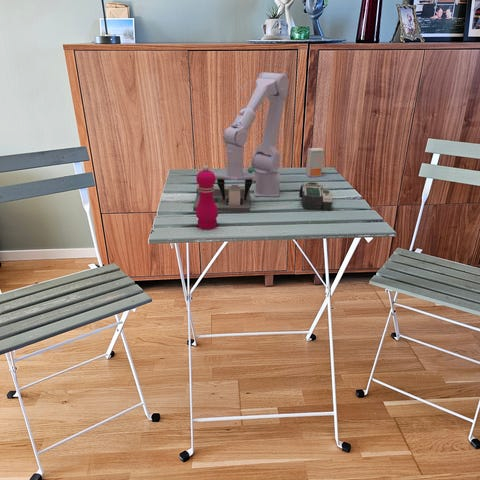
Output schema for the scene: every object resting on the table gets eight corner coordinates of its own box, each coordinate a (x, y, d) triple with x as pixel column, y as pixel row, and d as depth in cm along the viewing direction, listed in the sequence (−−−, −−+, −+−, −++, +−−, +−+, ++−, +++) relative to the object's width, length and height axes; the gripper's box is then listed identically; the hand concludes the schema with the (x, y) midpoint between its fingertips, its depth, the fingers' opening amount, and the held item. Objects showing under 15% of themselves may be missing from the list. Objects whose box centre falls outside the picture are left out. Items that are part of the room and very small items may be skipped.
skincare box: (308, 177, 178) (311, 150, 173) (305, 174, 182) (307, 148, 176) (321, 176, 179) (324, 149, 174) (317, 173, 183) (320, 147, 178)
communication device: (327, 190, 165) (330, 169, 161) (332, 211, 144) (335, 188, 140) (298, 188, 166) (300, 167, 162) (298, 209, 145) (300, 186, 141)
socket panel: (249, 195, 156) (249, 185, 155) (249, 211, 142) (250, 200, 140) (197, 195, 157) (197, 184, 155) (193, 211, 142) (192, 199, 140)
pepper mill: (201, 231, 127) (199, 170, 118) (192, 223, 133) (190, 164, 124) (222, 227, 130) (221, 167, 121) (212, 219, 136) (211, 161, 127)
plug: (240, 202, 150) (240, 184, 147) (240, 208, 145) (240, 189, 142) (229, 202, 150) (229, 184, 147) (228, 207, 145) (228, 189, 142)
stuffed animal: (239, 169, 169) (244, 157, 178) (240, 184, 174) (244, 171, 183) (265, 171, 168) (268, 158, 177) (264, 186, 172) (268, 173, 181)
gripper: (213, 165, 137) (213, 202, 143) (255, 166, 137) (254, 203, 143) (214, 159, 143) (215, 196, 149) (255, 160, 143) (254, 196, 149)
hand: (234, 199), depth 146 cm, fingers open, 7 cm apart
